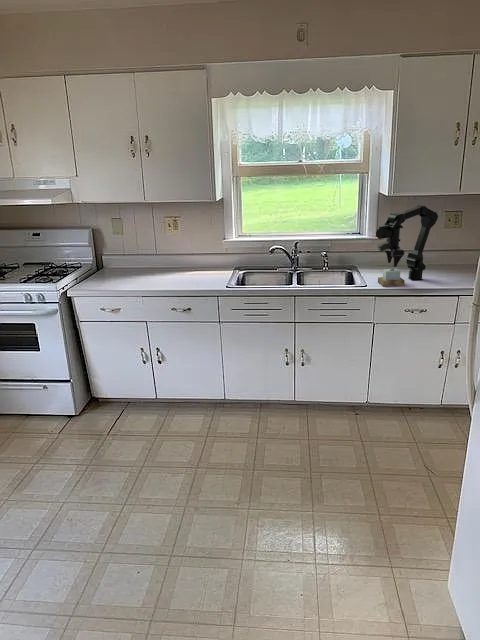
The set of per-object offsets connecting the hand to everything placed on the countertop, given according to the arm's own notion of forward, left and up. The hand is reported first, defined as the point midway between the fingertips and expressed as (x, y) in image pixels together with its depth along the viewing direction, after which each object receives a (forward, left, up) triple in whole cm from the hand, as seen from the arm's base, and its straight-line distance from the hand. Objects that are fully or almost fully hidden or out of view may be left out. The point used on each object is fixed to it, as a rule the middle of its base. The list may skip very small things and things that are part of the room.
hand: (391, 264), depth 266 cm
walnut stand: (0, 0, -11) cm, 11 cm away
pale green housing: (0, 0, -8) cm, 8 cm away
